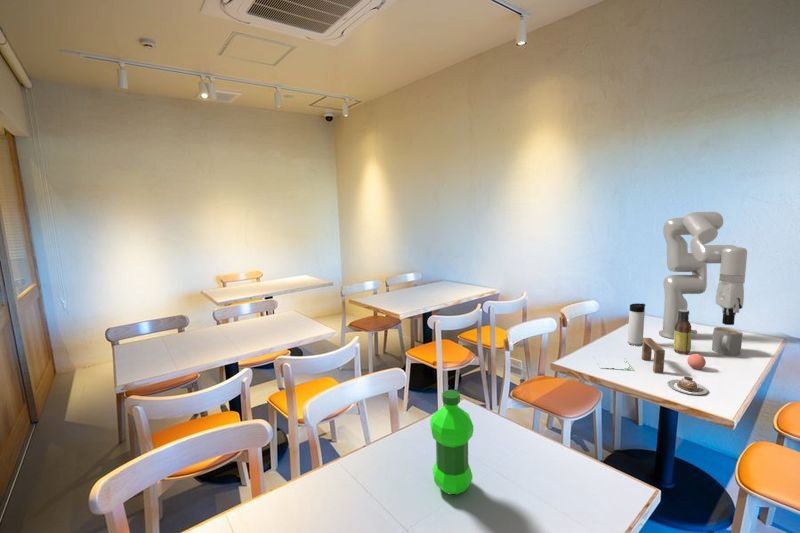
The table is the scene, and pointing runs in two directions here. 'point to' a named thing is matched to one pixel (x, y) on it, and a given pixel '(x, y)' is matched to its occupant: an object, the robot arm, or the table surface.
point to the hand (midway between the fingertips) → (728, 324)
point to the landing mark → (629, 366)
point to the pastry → (688, 386)
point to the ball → (696, 361)
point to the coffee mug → (727, 341)
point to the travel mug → (636, 324)
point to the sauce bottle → (682, 333)
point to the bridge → (658, 354)
